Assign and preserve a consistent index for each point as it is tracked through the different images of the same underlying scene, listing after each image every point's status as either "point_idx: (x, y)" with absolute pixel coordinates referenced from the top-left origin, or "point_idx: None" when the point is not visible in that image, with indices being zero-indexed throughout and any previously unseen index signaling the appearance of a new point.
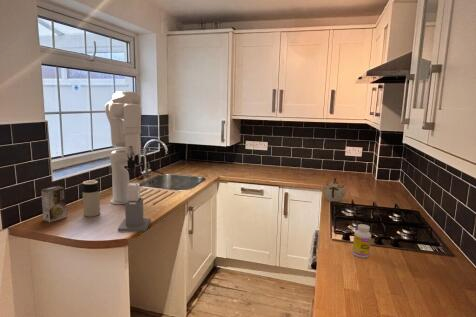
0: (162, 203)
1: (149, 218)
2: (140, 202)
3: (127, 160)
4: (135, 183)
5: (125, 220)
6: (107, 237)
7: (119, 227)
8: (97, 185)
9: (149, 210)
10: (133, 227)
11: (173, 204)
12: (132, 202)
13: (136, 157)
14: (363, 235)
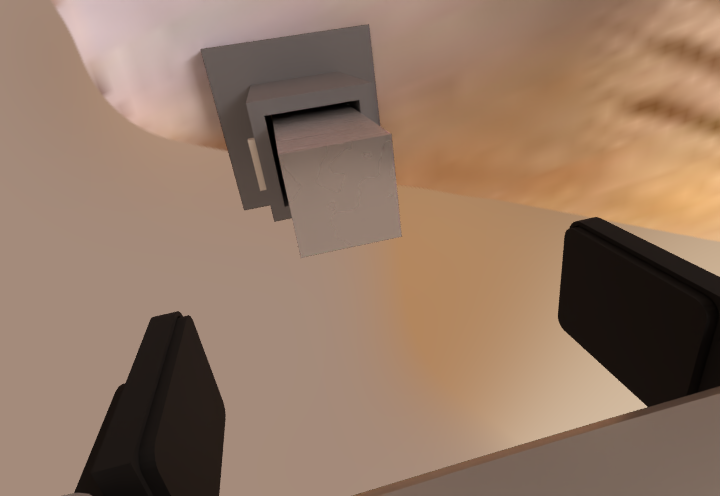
0: (646, 149)
1: None
2: (282, 218)
3: (96, 469)
4: (364, 207)
5: (337, 45)
6: (102, 18)
7: (220, 52)
8: None
9: (541, 114)
10: (240, 139)
11: (621, 212)
12: (261, 163)
13: (675, 392)
14: None
